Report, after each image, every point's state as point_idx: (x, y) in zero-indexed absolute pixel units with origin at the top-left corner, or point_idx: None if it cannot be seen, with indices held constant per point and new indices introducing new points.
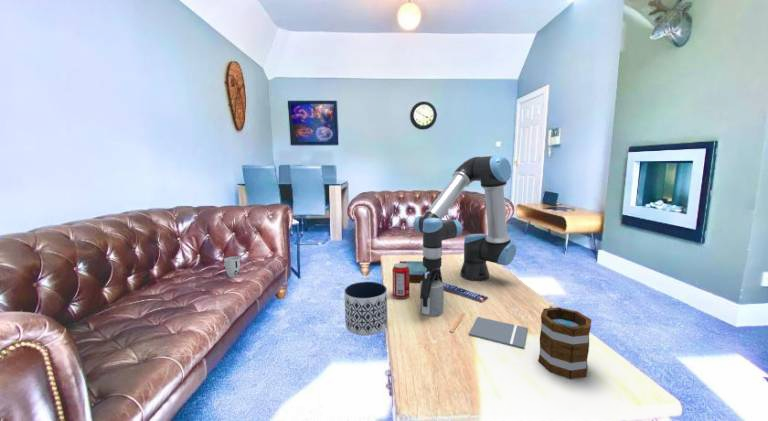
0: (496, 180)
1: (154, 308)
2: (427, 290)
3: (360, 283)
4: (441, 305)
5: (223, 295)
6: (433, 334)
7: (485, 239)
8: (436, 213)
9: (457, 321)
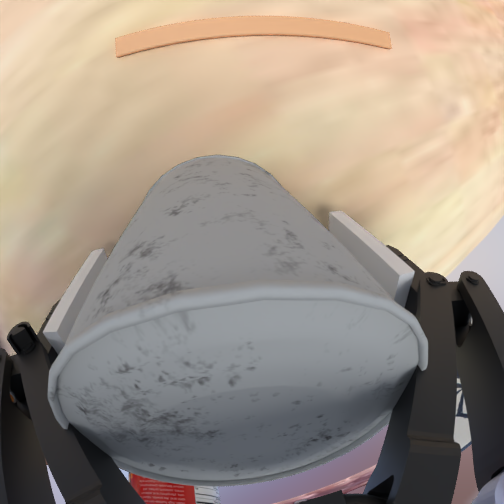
0: None
1: None
2: (500, 328)
3: None
4: (232, 170)
5: (359, 475)
6: (436, 120)
7: None
8: None
9: (263, 25)
